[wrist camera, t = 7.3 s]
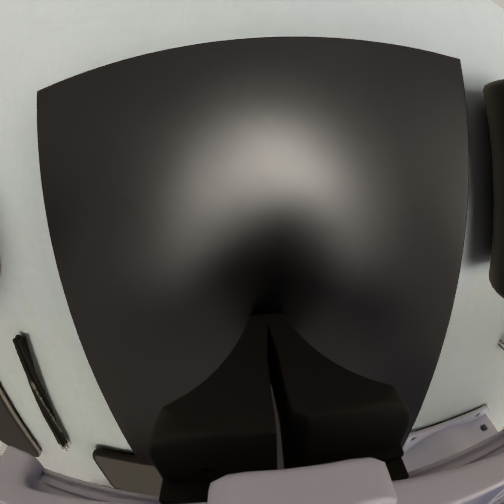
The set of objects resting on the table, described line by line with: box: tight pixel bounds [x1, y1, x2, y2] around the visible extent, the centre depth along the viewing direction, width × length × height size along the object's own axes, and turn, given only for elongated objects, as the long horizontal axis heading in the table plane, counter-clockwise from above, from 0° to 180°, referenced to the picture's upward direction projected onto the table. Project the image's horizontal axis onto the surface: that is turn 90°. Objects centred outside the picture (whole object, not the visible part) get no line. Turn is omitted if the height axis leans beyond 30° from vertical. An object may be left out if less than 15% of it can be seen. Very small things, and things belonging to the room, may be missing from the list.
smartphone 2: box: [93, 449, 163, 496], centre depth 19 cm, size 7×1×15 cm
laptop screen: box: [37, 37, 469, 470], centre depth 12 cm, size 17×22×1 cm
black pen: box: [13, 335, 70, 451], centre depth 17 cm, size 12×1×1 cm, turn 174°
